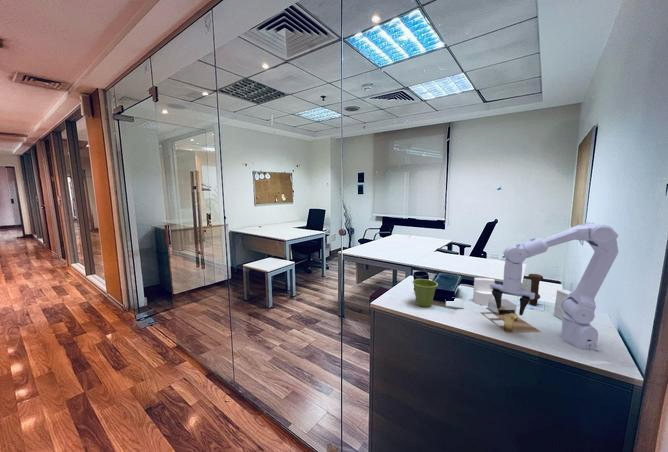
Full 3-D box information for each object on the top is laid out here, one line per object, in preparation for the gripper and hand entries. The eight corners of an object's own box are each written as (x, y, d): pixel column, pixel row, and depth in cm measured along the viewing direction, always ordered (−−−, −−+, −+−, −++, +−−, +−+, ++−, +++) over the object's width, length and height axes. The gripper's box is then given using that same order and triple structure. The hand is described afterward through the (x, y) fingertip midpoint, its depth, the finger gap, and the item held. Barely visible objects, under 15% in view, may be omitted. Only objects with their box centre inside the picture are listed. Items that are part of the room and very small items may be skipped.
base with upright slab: (475, 304, 132) (477, 281, 131) (470, 298, 141) (472, 275, 139) (496, 306, 130) (497, 282, 129) (489, 299, 139) (491, 277, 137)
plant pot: (410, 307, 129) (411, 284, 128) (413, 298, 140) (413, 277, 139) (436, 311, 125) (437, 288, 123) (437, 302, 135) (438, 280, 134)
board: (543, 334, 104) (544, 327, 103) (506, 335, 103) (507, 327, 103) (504, 309, 127) (504, 303, 126) (473, 309, 126) (473, 303, 126)
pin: (514, 331, 104) (515, 317, 103) (507, 332, 104) (508, 317, 103) (509, 328, 107) (510, 313, 106) (502, 328, 107) (503, 313, 106)
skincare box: (553, 315, 120) (555, 289, 119) (562, 315, 121) (565, 289, 119) (565, 321, 114) (568, 294, 113) (575, 321, 114) (578, 294, 113)
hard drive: (464, 308, 125) (463, 298, 137) (445, 305, 129) (445, 296, 140) (464, 311, 126) (463, 301, 137) (445, 308, 129) (445, 299, 140)
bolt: (542, 307, 129) (545, 277, 127) (530, 306, 130) (533, 276, 128) (535, 302, 135) (538, 273, 133) (524, 301, 136) (527, 273, 134)
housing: (515, 314, 119) (516, 305, 118) (497, 314, 118) (498, 305, 118) (505, 307, 126) (505, 299, 125) (487, 307, 125) (488, 299, 125)
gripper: (538, 279, 100) (535, 314, 101) (495, 271, 111) (493, 302, 112) (532, 283, 95) (529, 320, 97) (488, 274, 106) (486, 307, 108)
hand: (509, 311), depth 104 cm, fingers open, 7 cm apart
